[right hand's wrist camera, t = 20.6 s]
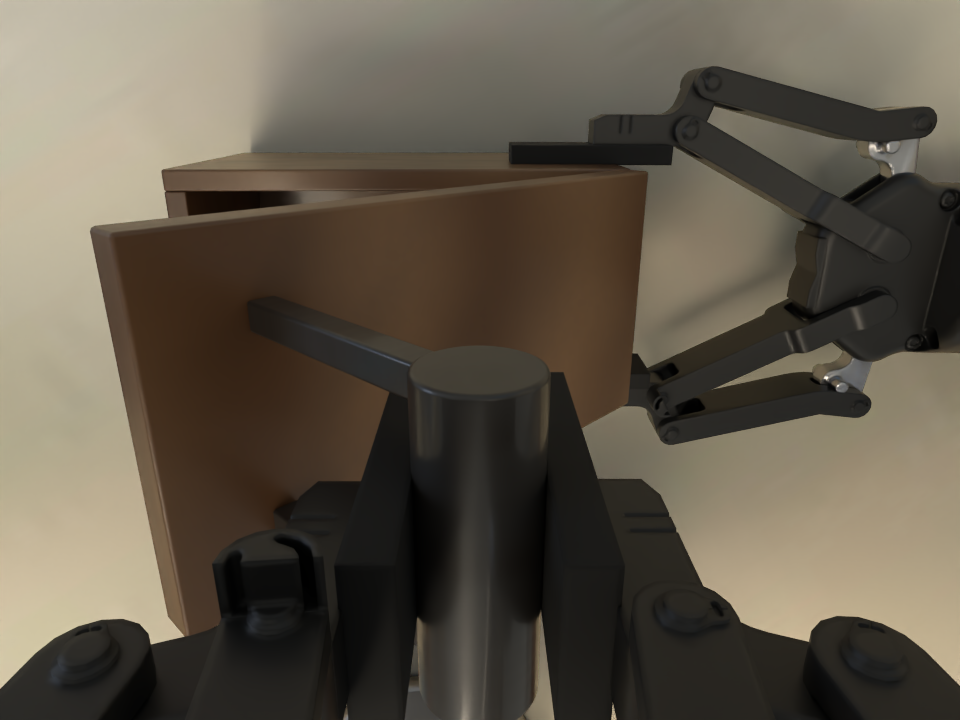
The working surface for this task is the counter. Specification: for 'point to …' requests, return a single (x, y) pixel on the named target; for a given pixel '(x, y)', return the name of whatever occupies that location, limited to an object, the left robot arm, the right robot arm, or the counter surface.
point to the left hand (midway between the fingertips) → (508, 268)
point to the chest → (338, 177)
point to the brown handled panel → (379, 386)
